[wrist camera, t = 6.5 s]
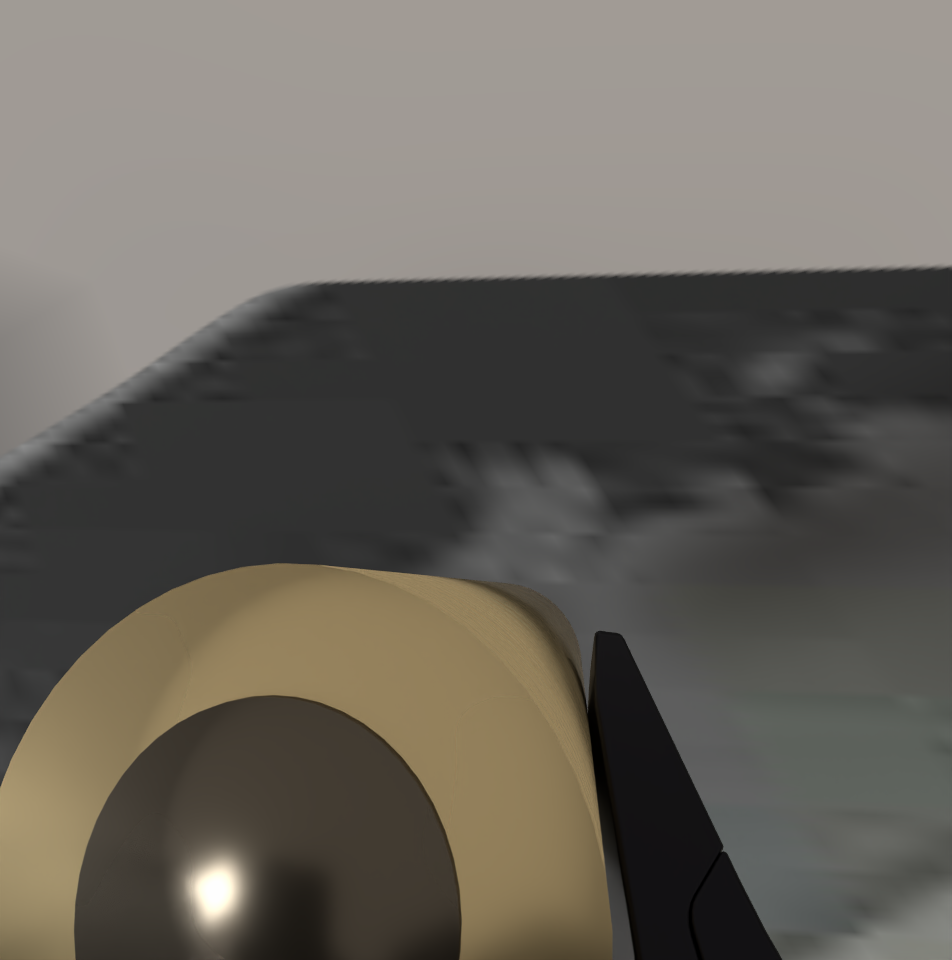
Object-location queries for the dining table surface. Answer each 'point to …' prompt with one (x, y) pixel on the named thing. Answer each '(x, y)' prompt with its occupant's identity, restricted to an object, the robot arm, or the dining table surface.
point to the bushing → (311, 779)
